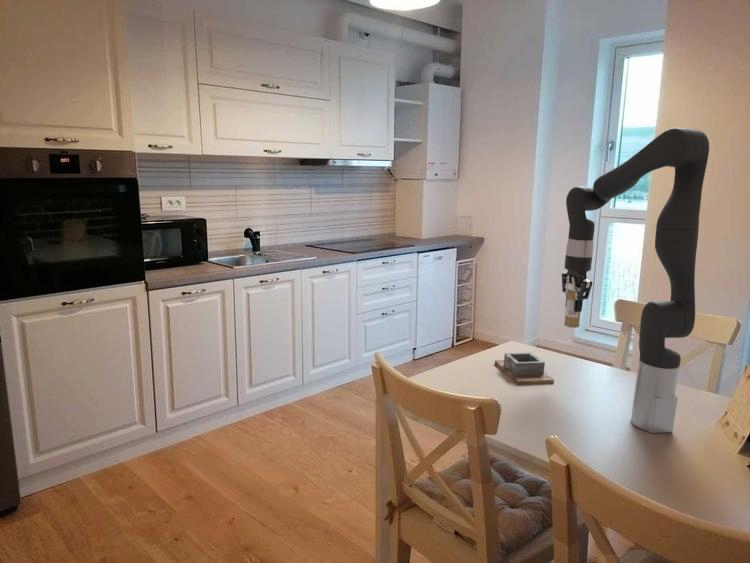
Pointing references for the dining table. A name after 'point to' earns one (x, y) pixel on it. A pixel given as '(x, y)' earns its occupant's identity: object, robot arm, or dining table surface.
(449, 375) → the dining table surface
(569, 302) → the sprinkles bottle
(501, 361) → the socket holder
